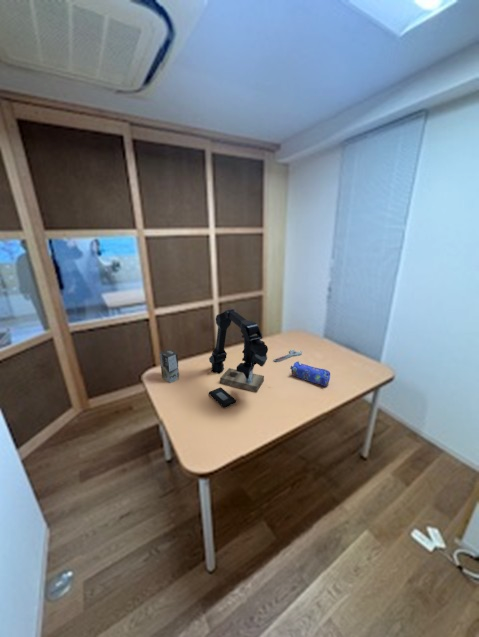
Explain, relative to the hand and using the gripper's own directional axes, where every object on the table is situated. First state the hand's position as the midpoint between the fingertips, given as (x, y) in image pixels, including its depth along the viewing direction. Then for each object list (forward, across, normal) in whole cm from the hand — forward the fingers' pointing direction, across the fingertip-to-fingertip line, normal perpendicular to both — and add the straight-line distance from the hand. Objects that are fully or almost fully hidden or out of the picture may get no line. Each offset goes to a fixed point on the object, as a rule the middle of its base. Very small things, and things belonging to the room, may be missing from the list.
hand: (248, 376), depth 129 cm
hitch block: (+13, +13, +10) cm, 20 cm away
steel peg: (+3, 0, 0) cm, 3 cm away
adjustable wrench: (+13, +56, -8) cm, 58 cm away
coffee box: (+13, 0, +49) cm, 50 cm away
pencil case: (+13, +31, -26) cm, 43 cm away
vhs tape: (+13, -6, +12) cm, 19 cm away
